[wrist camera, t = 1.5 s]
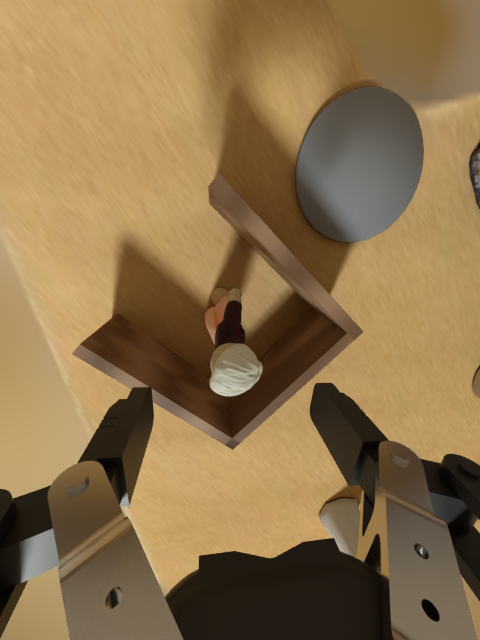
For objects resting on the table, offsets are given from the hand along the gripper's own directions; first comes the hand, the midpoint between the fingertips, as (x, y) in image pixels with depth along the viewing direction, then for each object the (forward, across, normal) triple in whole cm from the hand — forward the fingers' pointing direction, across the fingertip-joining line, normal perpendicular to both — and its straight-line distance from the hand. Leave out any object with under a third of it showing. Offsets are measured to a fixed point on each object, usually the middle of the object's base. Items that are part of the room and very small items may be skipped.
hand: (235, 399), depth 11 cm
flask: (+14, -21, +35) cm, 43 cm away
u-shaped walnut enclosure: (+14, 0, 0) cm, 14 cm away
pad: (+14, -12, -14) cm, 23 cm away
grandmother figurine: (+14, 0, 0) cm, 14 cm away
